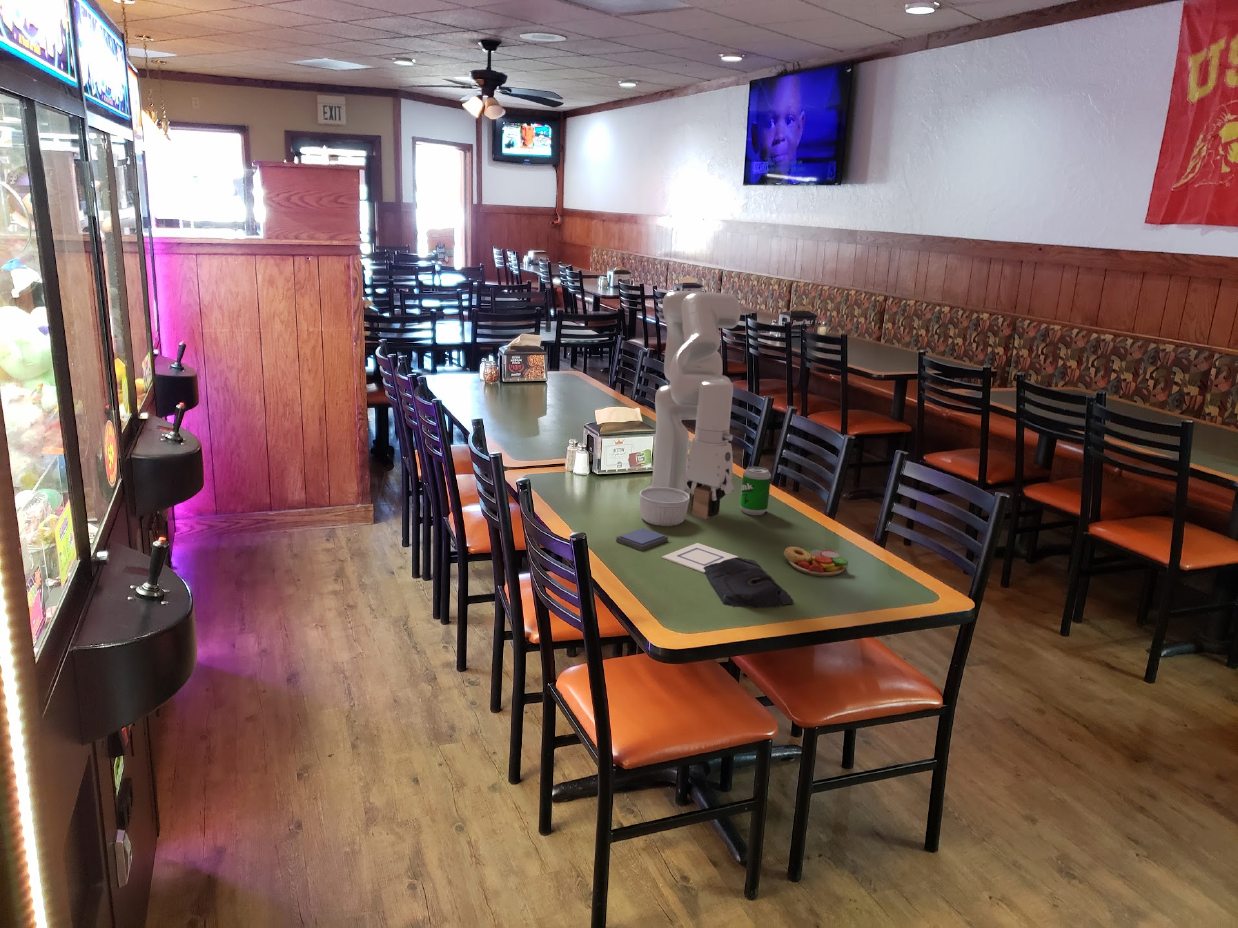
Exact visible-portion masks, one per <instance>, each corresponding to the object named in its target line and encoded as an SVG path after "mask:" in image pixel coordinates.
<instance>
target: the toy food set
mask: <svg viewBox="0 0 1238 928" xmlns="http://www.w3.org/2000/svg"><path fill="white" fill-rule="evenodd" d="M783 556H784V557H785V558H786V559H787V560H788V562H789V564H790V565H791V566H792V567H793V568H794V569H795V570H797V571H799V572H801V573H804V574H806V575H812V576H815V577H817V576H818V577H834V576H836V575H840V574H841V573H842V572H844V571H845V570H846V569H845V568H846V567H848V565H849V564H848V562H849V561H848V559H846V558H843V557H840V554H838V553H837V552H836V551H835V550H832V549H824V550H820V549H815V548H813V547H807V548H805V549H803V548H800V547H799V546H788V547H786V548H785V550H784V552H783Z"/></svg>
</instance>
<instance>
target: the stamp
mask: <svg viewBox="0 0 1238 928" xmlns="http://www.w3.org/2000/svg"><path fill="white" fill-rule="evenodd" d="M711 499H712V493H711V487H710V486H707V485H702V486H699V487H696V488H694V498H693V511H692V510H691V512H692V513H691V514H692V515H691V516H692V518H694V519H698V520H701V521H704V522H707V521H711V520H714V519H716V517H717V515H715V516H713V517H709V516H708V513H709V502H710V500H711Z"/></svg>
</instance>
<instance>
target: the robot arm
mask: <svg viewBox="0 0 1238 928" xmlns="http://www.w3.org/2000/svg"><path fill="white" fill-rule="evenodd" d="M740 306H741V305H740V302H739V300H738V298H737V297H736V296H735V295H734V294H732V293H723V292H706V291H696V290H695V291H693V290H692V291H691V290H673V291H668V292H667V293H666V294H665V295H664V297H663V299H662V315H663V318H664V319H663V320H664V321H665V326H666V330H667V331H666V344H665V352H664V363H663V372H664V376H665V378H666V379H667V380H668V381H669V384H666V385H662V386H660V387H659V388H658V389H657V390H656V392H655V395H654V396H655V398H654V408H655V418H656V419H655V420H656V422H655V439H654V450H653V452H654V454H653V468H652V480H651V484H650V485H648V486H647V487H646V488H652V487H667V488H674V489H678V490H681V491H684V492H686V493H687V494H689V496H691V495H692V497H691V512H692V511H693V498H694V488H696V487H699V486H702V485H707V486H710V487H711V493H712V499H711V500H710V502H709V513H708V516H709V517H713V516H715V515H716V516H718V515H719V512H720V507H721V500H722V499H723V498H724V497H725V496H726V495H727V494H729V493H732V492H734V491H735V487H734V484H733V482H732V481H733V470H734V467H733V465H734V462H733V461H734V458H733V448H732V443H730V442H729V441H731V442H732V440H733V437H734V436H733V435H732V434H730V428H731V427H730V424H731V414H732V413H731V412H732V404H733V395H734V384H733V382H732V381H731V379H730V378H729V377H728V376H726V375H723V360H722V355H721V353H720V352H719V351H718V350H719V349H720V346H721V337H720V336H721V335H720V330H719V329H734V328H735V327H737V326H738V324H739V322H740V319H741V307H740ZM682 420H684V421H686V420H687V421H688V420H691V421H695V432H694V438H692V440H691V443H690V434H689V430H688V429H687V427H686V426H685V425H684V424H683V422H682ZM689 445H690V446H689ZM723 485H724V488H723Z"/></svg>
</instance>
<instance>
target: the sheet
mask: <svg viewBox="0 0 1238 928" xmlns="http://www.w3.org/2000/svg"><path fill="white" fill-rule="evenodd" d="M735 557H739V556H738V555H734V554H732V553H730V552H729V553H728V552H725V551H723V550H719V549H717V548H714V547H710V546H707V545H704V544H702V543H700V542H696V543H693V544H691V545H687V546H686V547H683V548H680V549H678V550H676V551H672V552H671V553H668V554H665V555H662V556H661V559H664V560H667V561H670V562H673V563H675V564H678V565H681V566H684V567H687V568H689V569H692V570H694V571H697V572H700V573H703V574H704V572H705V570H704V569H703V568H704V567H705V566H708V565H710V564H714V563H720V562H722V561H724V560H727V559H731V558H735Z"/></svg>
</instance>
